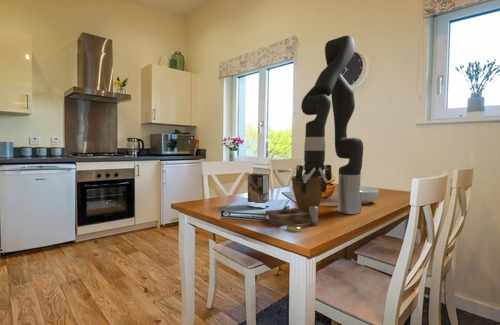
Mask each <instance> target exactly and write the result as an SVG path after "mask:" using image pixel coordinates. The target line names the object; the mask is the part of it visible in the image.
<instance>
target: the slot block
mask: <svg viewBox="0 0 500 325" xmlns="http://www.w3.org/2000/svg"><path fill="white" fill-rule="evenodd" d="M266 214H267V215H268V217H269V221H268V222H269V223H270V224H272V225H274V226H275V227H282V226H288V225H299V224H309V213H306V212H304V211H302V210H299V208H297V207H294V208H283V209H282V208H281V209H274V210H273V209H271V210H265V215H266Z"/></svg>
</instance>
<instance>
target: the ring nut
mask: <svg viewBox="0 0 500 325" xmlns="http://www.w3.org/2000/svg"><path fill="white" fill-rule="evenodd" d="M286 227H287V229H286V230H287V231H288V232H291V233H300V232H302V228H303V227H302V226H301V225H299V224H292V225H286Z"/></svg>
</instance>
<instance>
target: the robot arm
mask: <svg viewBox="0 0 500 325" xmlns="http://www.w3.org/2000/svg"><path fill="white" fill-rule="evenodd" d="M324 45H325V46H324V56H325V62H326V66H325V68H324V69H323V70H322V71H321V72H320V73H319V75H318V77H317V79H316V82H315V83H314V86H313V87H311V89H310V90H309V91H308V92H307V93H306V94H305V95H304V97H302V98H303V99H302V101H301V104H300V107H301V108H300V109H301V112H302V113H303V114H304V115H307V116H313V115H315V117H314V119H312V120H310V121H308V122H306V124H305V138H304V145H303V146H304V147H303V148H304V150H303V151H304V152H303V161H304V164H303V165H300V164H297V165H296V169H295V170H296V172H295V176H296V181H298V182H300V183H301V185H300V187H301V188H300V190H301V192H302V193H306V182H307V180H308V179H309V178H310V177H314V176H316V177H319V178H320V180H321V181H322V182H321V192H323V193H326V191H327V188H328V187H327V186H328V184H327V183H328V182H329V181H332V180H333V179H332V177H333V176H332V165H331V164H325V160H326V138H325V136H326V134H325V132H326V125H327V121H328V117H329V113H330V111H331V107H332V112H333V113H332V114H333V125H334V149H335V150H334V151H335V154H336V156H337V157H338V158H340V159H345V160H346V159H348V163H347V164H345V165H343V166H340V167H339V168H338V184H337V185H338V186H337V187H338V189H337V190H338V192H337V211H338V213H340V214H346V215H357V214H358V215H359V214H360V213H362V205H363V204H362V191H360V187H361V174H362V173H361V172H362V167H363V157H364V144H363V141H362V139H360V138H358V137H347V130H348V128H347V127H348V124H349V122H350V120H351V118H352V115H354V114H353V113H354V112H355V108H356V104H355V103H356V102H355V92H354V89H353V88H352V86H351V85H350V83H349V82H348V81H347V80H346V79H345V78H344V76H343V75H342V72H343V71H344V70H345V68H346V67H347V65H348V63H349V62H350V61H351V60H352V58H353V57H354V55H355V51H356V50H355V49H356V44H355V40H354V39H353V37H352V36H350V35H342V36H340V37H337V38H333V39H331V40H328V41H327V42H326V43H325V44H324ZM330 95H331V98H330ZM331 104H332V105H331ZM303 171H304V173H303Z"/></svg>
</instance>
